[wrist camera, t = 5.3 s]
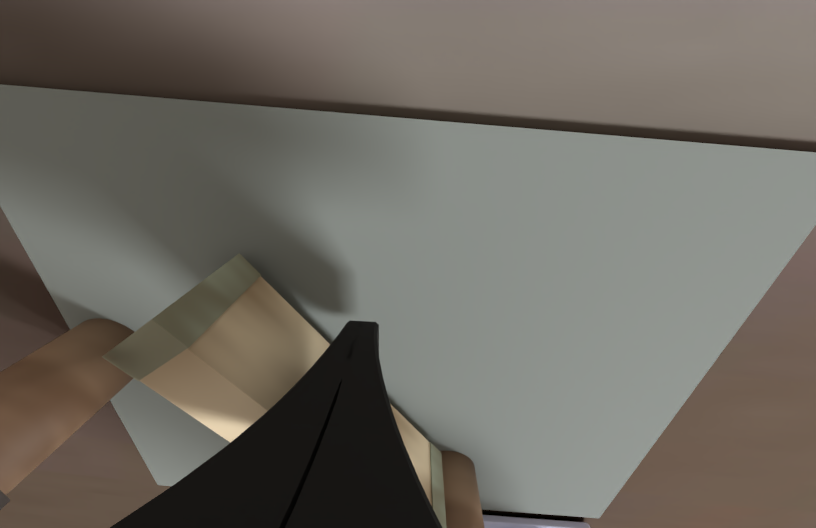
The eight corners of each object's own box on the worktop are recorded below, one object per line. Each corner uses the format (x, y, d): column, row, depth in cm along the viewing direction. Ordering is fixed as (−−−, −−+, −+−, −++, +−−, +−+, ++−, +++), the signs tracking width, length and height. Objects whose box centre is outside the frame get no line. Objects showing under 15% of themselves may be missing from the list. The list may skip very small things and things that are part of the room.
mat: (595, 510, 18) (599, 518, 18) (163, 477, 18) (157, 484, 18) (847, 154, 9) (865, 156, 8) (-52, 79, 9) (-72, 78, 8)
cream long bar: (441, 452, 14) (448, 549, 11) (406, 465, 15) (403, 560, 12) (239, 253, 10) (152, 318, 7) (199, 282, 10) (101, 356, 7)
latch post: (166, 367, 14) (-4, 535, 8) (102, 362, 14) (-113, 528, 8) (145, 315, 12) (-76, 475, 7) (74, 309, 12) (-206, 465, 7)
